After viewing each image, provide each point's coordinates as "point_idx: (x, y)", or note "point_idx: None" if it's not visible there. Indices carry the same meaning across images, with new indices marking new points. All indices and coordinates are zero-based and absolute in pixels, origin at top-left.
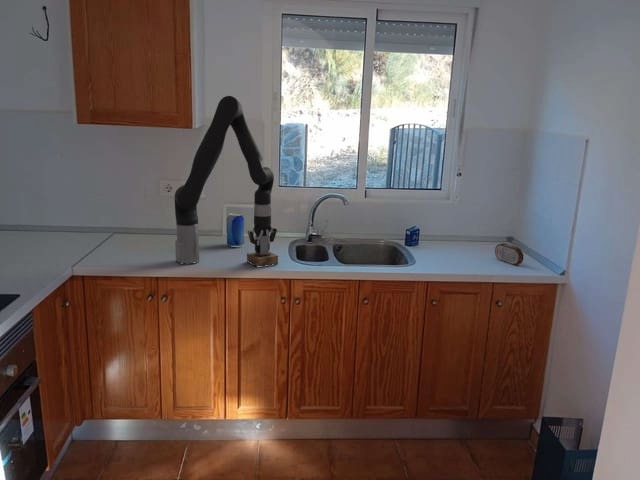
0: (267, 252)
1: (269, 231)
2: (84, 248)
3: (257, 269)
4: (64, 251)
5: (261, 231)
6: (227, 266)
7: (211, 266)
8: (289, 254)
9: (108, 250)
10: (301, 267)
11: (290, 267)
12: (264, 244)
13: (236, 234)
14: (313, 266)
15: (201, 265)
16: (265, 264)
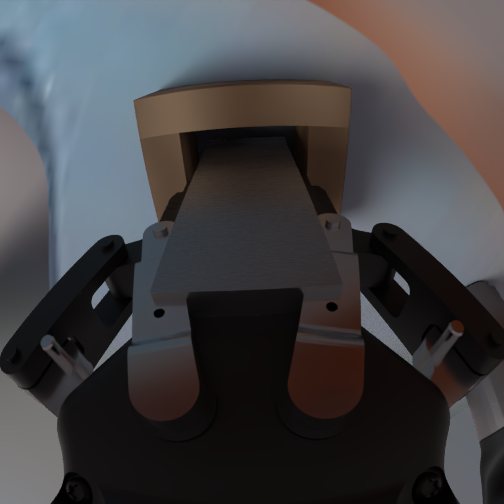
0: (209, 160)
1: (108, 369)
2: None
3: (346, 57)
4: None
5: (343, 383)
6: (437, 204)
7: (469, 236)
8: (55, 250)
9: None
10: (57, 6)
11: (110, 11)
12: (244, 199)
13: None
14: (6, 24)
15: (476, 261)
16: (265, 81)
